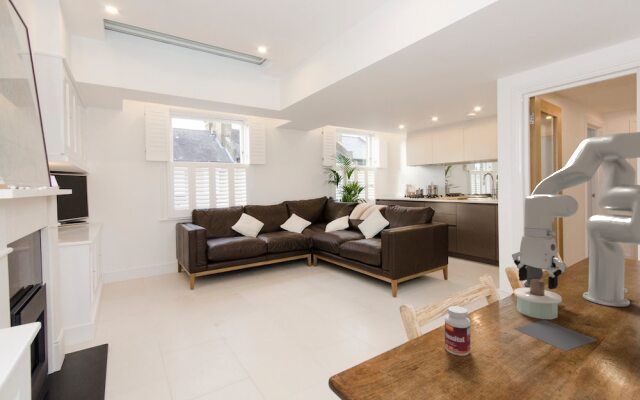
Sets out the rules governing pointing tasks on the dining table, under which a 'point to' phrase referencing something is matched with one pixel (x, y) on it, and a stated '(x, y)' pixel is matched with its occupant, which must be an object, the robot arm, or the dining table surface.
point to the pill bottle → (457, 331)
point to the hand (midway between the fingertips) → (537, 284)
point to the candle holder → (532, 275)
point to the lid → (537, 293)
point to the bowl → (537, 309)
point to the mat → (555, 335)
